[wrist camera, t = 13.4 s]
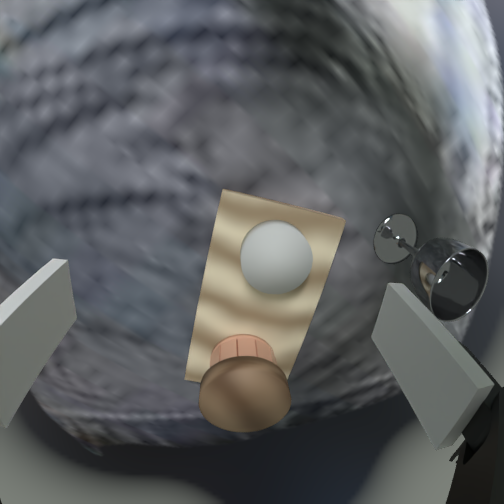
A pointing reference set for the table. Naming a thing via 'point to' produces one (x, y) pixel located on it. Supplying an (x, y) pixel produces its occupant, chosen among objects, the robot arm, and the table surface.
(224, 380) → the lid
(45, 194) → the table surface
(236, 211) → the serving board
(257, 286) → the light grey domed disc
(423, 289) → the wine glass
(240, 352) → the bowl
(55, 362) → the table surface
